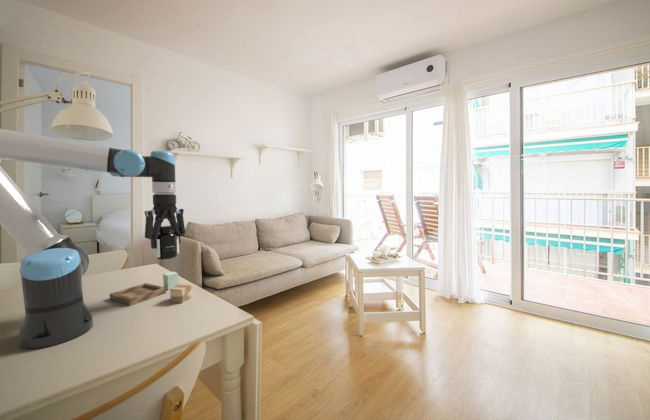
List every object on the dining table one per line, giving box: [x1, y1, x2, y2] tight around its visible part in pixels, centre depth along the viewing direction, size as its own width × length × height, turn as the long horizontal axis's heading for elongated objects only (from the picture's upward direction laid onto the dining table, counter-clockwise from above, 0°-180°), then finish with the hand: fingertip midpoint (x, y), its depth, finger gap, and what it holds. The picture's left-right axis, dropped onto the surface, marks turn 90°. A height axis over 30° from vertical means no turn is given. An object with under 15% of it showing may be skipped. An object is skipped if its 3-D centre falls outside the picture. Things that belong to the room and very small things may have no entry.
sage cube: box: [162, 271, 179, 291], centre depth 113 cm, size 4×4×6 cm
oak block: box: [169, 283, 193, 304], centre depth 101 cm, size 5×5×5 cm
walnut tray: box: [109, 282, 167, 307], centre depth 104 cm, size 13×13×2 cm
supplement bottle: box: [156, 225, 178, 260], centre depth 103 cm, size 7×7×12 cm
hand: (166, 254), depth 104 cm, fingers closed on supplement bottle, 7 cm apart
